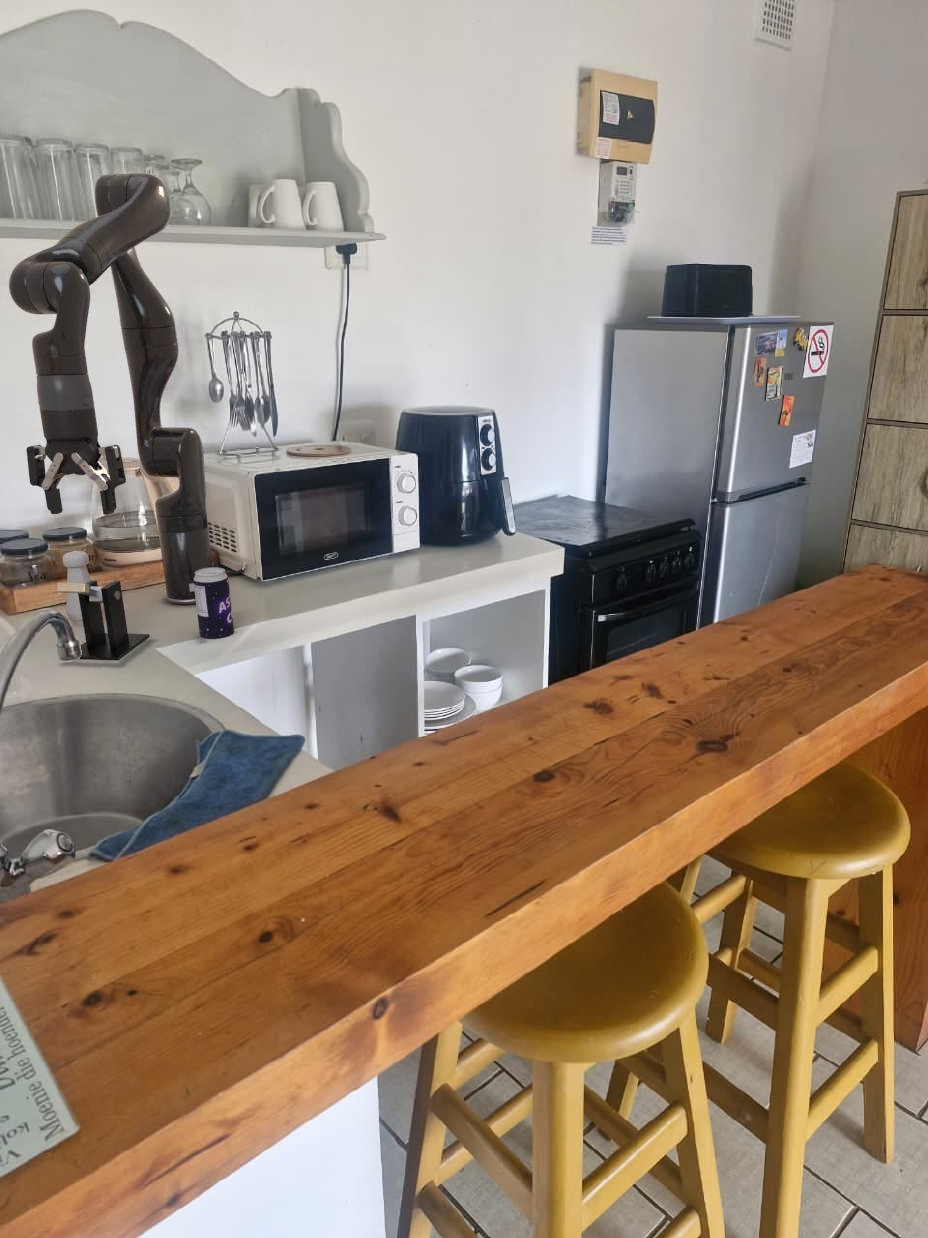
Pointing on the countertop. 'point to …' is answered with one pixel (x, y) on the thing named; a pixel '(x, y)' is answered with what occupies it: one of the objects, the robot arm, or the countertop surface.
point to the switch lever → (82, 590)
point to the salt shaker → (76, 580)
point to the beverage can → (213, 603)
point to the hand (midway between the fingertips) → (82, 513)
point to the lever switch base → (117, 637)
